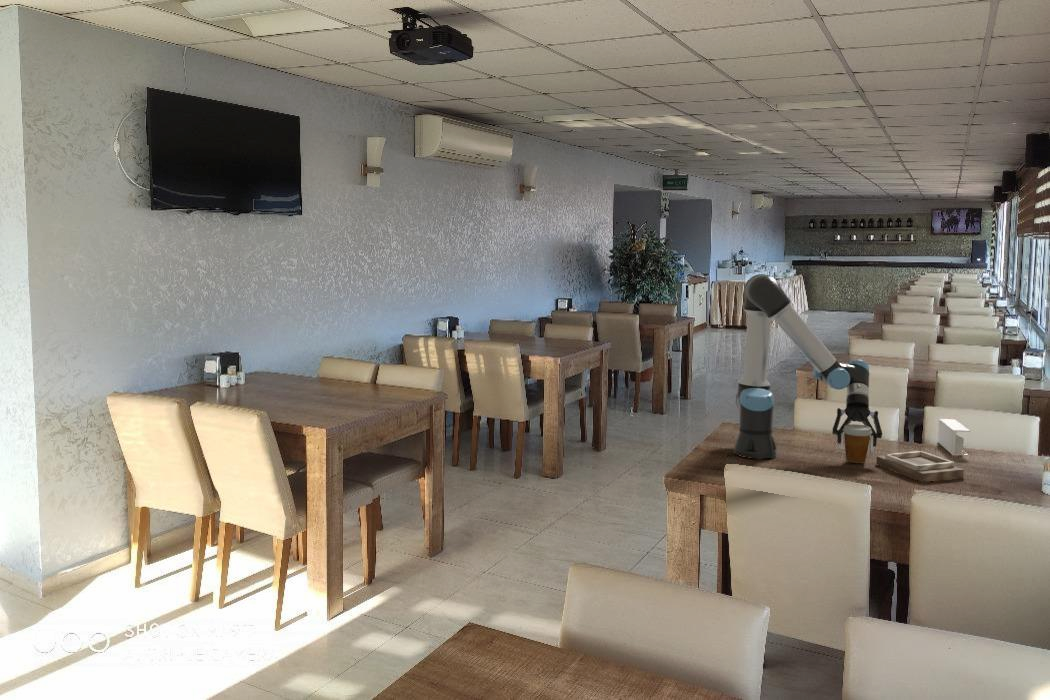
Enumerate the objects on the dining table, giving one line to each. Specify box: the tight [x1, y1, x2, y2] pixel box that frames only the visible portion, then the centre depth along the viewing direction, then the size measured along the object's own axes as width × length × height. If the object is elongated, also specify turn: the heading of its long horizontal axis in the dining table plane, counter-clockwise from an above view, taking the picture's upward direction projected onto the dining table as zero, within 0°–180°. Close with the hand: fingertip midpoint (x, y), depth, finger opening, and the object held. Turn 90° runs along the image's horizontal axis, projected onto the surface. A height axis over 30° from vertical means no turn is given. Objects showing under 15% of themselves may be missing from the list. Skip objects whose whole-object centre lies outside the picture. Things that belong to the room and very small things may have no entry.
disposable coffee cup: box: [843, 423, 872, 464], centre depth 288 cm, size 10×10×12 cm
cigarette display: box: [937, 418, 971, 456], centre depth 306 cm, size 20×6×9 cm, turn 168°
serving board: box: [875, 450, 965, 483], centre depth 277 cm, size 16×22×4 cm
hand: (856, 452), depth 285 cm, fingers closed on disposable coffee cup, 9 cm apart
